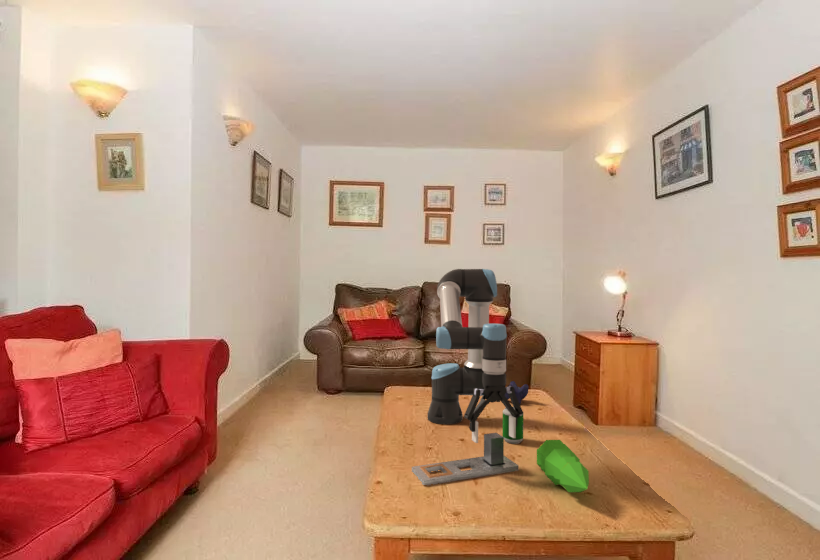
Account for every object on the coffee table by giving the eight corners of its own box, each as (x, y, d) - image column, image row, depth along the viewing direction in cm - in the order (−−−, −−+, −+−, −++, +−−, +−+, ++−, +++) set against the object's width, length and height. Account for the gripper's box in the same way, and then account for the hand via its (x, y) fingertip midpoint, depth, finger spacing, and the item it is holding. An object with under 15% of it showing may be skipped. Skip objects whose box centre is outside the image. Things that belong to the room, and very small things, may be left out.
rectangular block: (483, 465, 142) (484, 434, 142) (495, 463, 144) (496, 432, 144) (491, 470, 138) (491, 438, 138) (503, 468, 140) (503, 437, 140)
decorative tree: (554, 426, 144) (598, 460, 114) (568, 459, 143) (615, 501, 113) (522, 440, 143) (558, 477, 113) (536, 473, 143) (575, 519, 113)
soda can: (523, 445, 160) (523, 412, 160) (502, 443, 161) (502, 410, 162) (522, 438, 167) (522, 406, 167) (502, 436, 169) (502, 405, 169)
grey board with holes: (411, 471, 137) (411, 466, 137) (501, 458, 148) (501, 453, 148) (423, 485, 127) (423, 479, 127) (518, 470, 138) (518, 464, 138)
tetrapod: (498, 397, 223) (501, 377, 221) (521, 396, 225) (524, 376, 222) (506, 409, 213) (508, 388, 210) (530, 408, 214) (532, 387, 211)
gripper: (464, 376, 133) (464, 447, 133) (534, 372, 142) (534, 438, 141) (453, 372, 140) (453, 439, 140) (520, 368, 149) (520, 431, 149)
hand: (493, 439), depth 141 cm, fingers open, 13 cm apart
